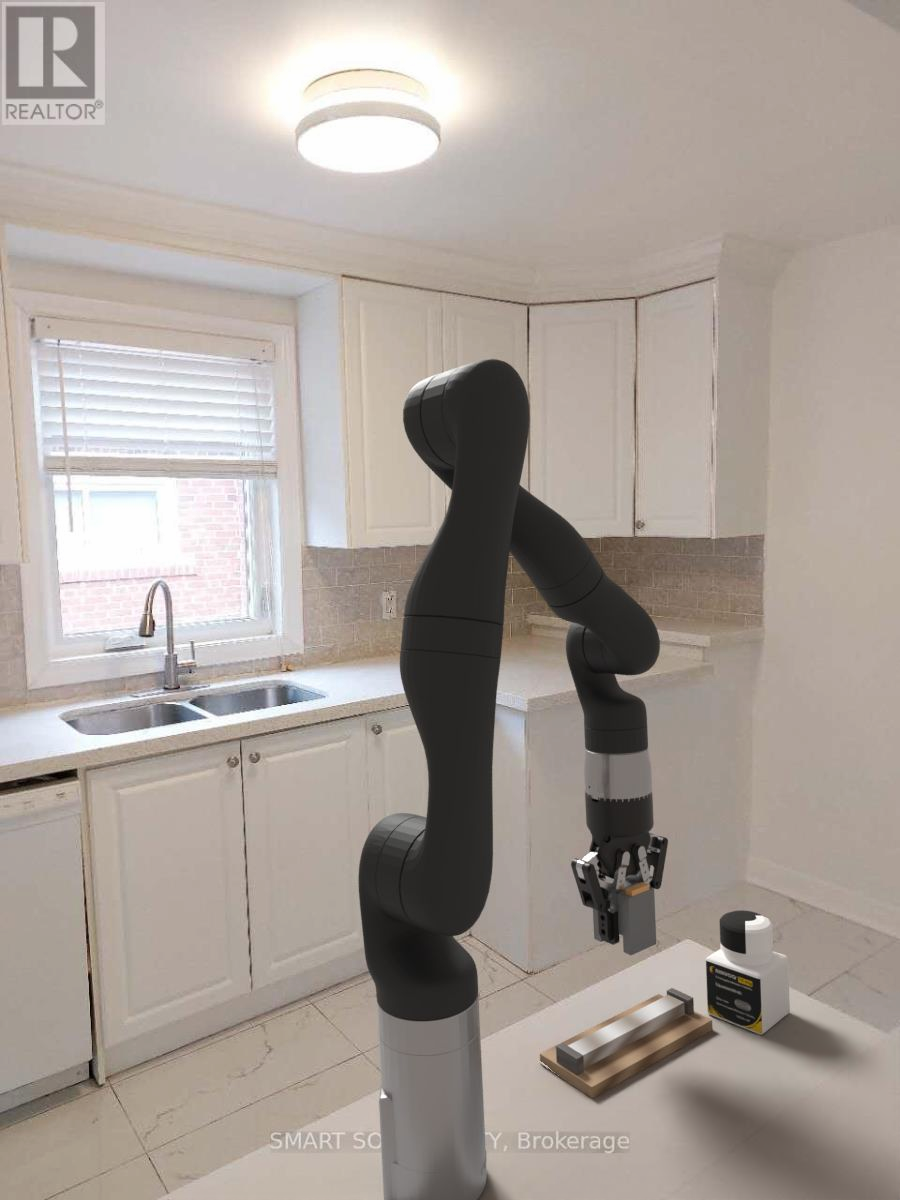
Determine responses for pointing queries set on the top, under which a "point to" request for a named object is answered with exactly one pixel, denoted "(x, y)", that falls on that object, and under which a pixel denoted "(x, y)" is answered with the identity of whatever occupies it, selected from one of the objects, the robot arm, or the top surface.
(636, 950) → the block
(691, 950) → the top surface
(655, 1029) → the rail board
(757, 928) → the medicine bottle
